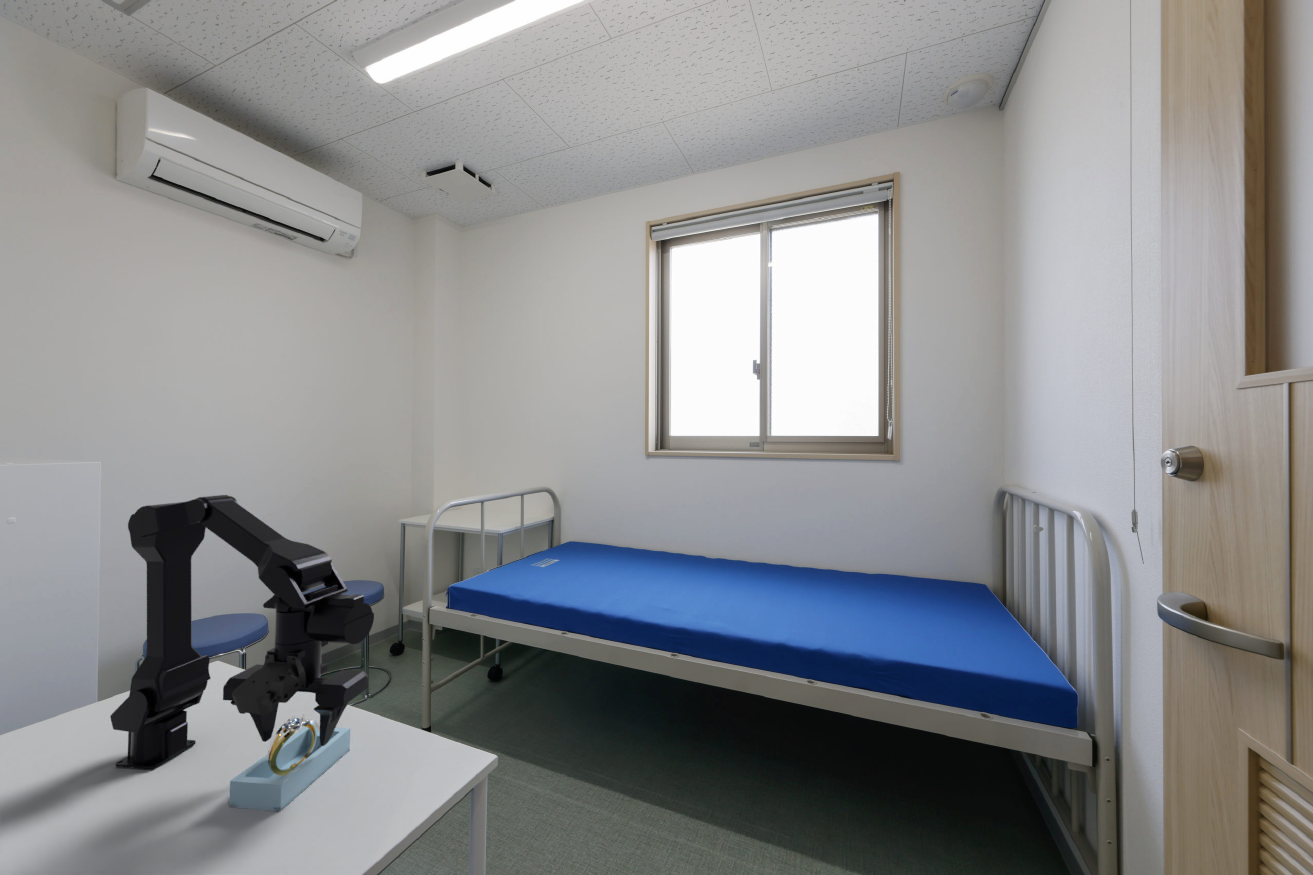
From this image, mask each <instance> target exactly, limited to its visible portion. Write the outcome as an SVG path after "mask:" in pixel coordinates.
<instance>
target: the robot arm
mask: <svg viewBox="0 0 1313 875" xmlns="http://www.w3.org/2000/svg"><path fill="white" fill-rule="evenodd" d="M127 522H128V523H127V530H128V532H129V537H130V544H131V547H132V549H133V550H134V551H135V552H136V553H137V554H138V555H139V556H140V557H141V558H142V560H144V561H145V563H146V656H145V658H144V659H143V661H142V662H141V663H140V665H139V666H138V668H137V670H136V671H135V672H134V674H133V675H132V677H131V681H130V682H131V683H130V689H129V695H128V697H127V698H126V699H125V700H124V701H123V702H122V703H121V704H120V705H119V706H118V707H117V708H116V709H115V710H114V711H113V712H112V713H111V714H110V717H109V718H110V720H111V726H112V729H113V730H115V731H121V732H128V733H127V734H128V738H127V756H125V757H124V758H122V759H120V760H118V761H116V762H115V767H117V768H125V769H126V768H127V769H137V770H138V769H139V770H155V769H157V768H158V767H159V766H161V765H162V764H165V763H167V762H168V761H170V760H172V759H173V758H174V757H176V756H178V755H179V754H181V753H183V752H185V751H187V750H188V749H189V748H191V747H193V746H194V745H196V739H195V740H194V739H188V729H189V728H188V727H189V722H188V721H187V719H188V718H187V716H188V715H187V714H188V712H187V709H189V708H191V707H193V706H196V705H198V704H200V703H201V700H202V696H203V694H204V692H205V690H206V688H207V686H208V681H209V680H211V676H210V670H209V668H210V661H211V660H210V657H209V656H208V655H206V654H205V655H201V654H200V652H198V651H197V649H195V648H194V647H193V644H192V642H193V641H192V639H193V638H192V636H193V635H192V630H193V629H192V624H193V623H192V622H193V621H192V620H193V619H192V617H193V616H192V558H193V555H194V554H195V552H197V549H198V548H199V547H200V545H202V542H203V541H204V540H205V536H206V529H207V530H209V531H210V532H212V533H213V534H214V535H216V536H217V537H218V538H220V540H222V541H224V542H225V543H226V544H228V545H229V546H231V547H232V548H234V549H235V550H236V551H237V552H238V553H240V554H241V555H243V556H244V557H245V558H246V559H248V560H250V561H251V562H252V563H253V564H254V565H255V566H256V567H257V575H258V579H259V580H260V581H261V582H262V584H263V585H264V586H266V587H267V588H268V590H269V591H270V593H271V592H272V594H273V595H272V597H270V598H269V599H268V600H266V601H265V602H264V603H263V604H262V607H263V608H264V609H272V610H275V622H274V625H275V627H274V647H273V648H271V649H269V650H267V651H266V654H265V657H264V663H263V664H255V665H252V666H251V667H249V668H247V669H245V670H243V671H241V672H238V673H237V674H235V675H233V676H231V677H229V678H228V679H227V681H226V682H225V683H224V685H223V688H222V689H223V690H222V701H230V704H231V705H232V706H236V708H237V711H238V714H243V715H245V714H249V716H250V717H251V719H252V721H253V723H254V726H255V727H256V730H257V732H258V734H259V736H260V739H261V742H264V743H265V742H267V741H269V740H271V738H272V736H273V733H274V729H275V726H276V719H277V715H278V714H277V713H278V710H279V709H278V708H279V703H282V704H284V703H288V702H289V701H290V700H291V699H292V698H293V697H294V695H295V694H296V693H298V692H299V693H300V692H301V693H312V694H313V693H315V696H314V697H315V698H314V701H315V703H317V706H315V707H314V708H313V711H315V712H316V713H317V714H319V726H320V745H321V746H324V745H326V744H327V743H328V742H329V740H330V738H331V735H332V733H333V731H334V729H335V727H337V725H338V724H339V721H340V719H341V717H342V715H343V713H344V711H345V709H346V708H347V706H348V704H349V703H350V702H351V701H353V700H354V699H355V698H356V697H357V696H359V695H361V694H362V693H363V692H365V691H366V690H367V689H368V688H369V677H368V673H366V672H365V671H363V670H355V669H354V670H351V669H342V670H340V671H339V672H337V673H335V674H334V675H332V676H331V677H328V678H325V677H321V675H322V674H324V673H326V672H327V671H328V665H329V664H328V663H322V652H323V649H322V648H323V647H326V646H327V645H329V643H334V644H345V645H346V644H347V645H358V644H360V643H361V642H362V641H364V640H365V639H366V638H367V636H369V634H370V632H371V629H372V627H373V626H374V620H375V613H374V612H373V609H372V607H371V605H369V603H365V596H364V595H363V594H357V593H356V594H345V593H347V592H348V591H349V590H348V587H347V585H346V584H345V582H344V580H343V578H342V577H341V576H340V574H339V572H338V570H337V569H336V567H335V565H334V564H333V563H332V562H333V560H332V558H331V556H330V555H329V554H328V552H326V551H324V550H322V549H320V548H317V546H316V547H315V546H313V545H311V544H308V543H305V542H299V541H294V540H290V539H288V538H286V537H285V536H284V535H282V534H281V533H279V532H278V531H277V530H275V529H274V528H272V527H271V526H269V525H268V524H266V523H265V522H264V521H263V520H261V519H260V518H258V517H257V516H255V515H254V514H252V513H251V512H250V511H248V510H247V509H245V508H244V507H243V506H241V505H240V504H239V503H238V501H237V499H236V497H234V496H232V495H228V494H219V495H218V494H217V495H210V496H208V495H207V496H199V497H197V498H195V499H191V500H188V501H182V502H181V501H179V502H170V503H161V504H160V503H159V504H152V505H151V504H149V505H144V506H141V507H139V508H137V509H136V511H135V512H134V513H133V514H131V515H130V517H129V520H128V521H127ZM322 586H324V587H322ZM319 587H321V588H319ZM317 588H318V589H317ZM313 589H315V590H313ZM310 590H311V591H310ZM312 590H313V591H312ZM308 591H310V592H308ZM305 592H307V593H305ZM303 593H305V594H303Z"/></svg>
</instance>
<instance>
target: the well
mask: <svg viewBox="0 0 1313 875" xmlns="http://www.w3.org/2000/svg"><path fill="white" fill-rule="evenodd" d="M319 727H320V725H319ZM311 743H312V733H311V731H310V729H309V728H308V727H305V726H303V728H300V729H299V731H298V732H296V733H294V734H293V735H292V736H291V737H290V738H289V739H288V740H287V741H286V742H285V744H284V745H283V746H282V748H281V749H280V751H279V753H278V755H277V758H276V765H277V767H278V768H279V769H287V768H290V766H291V765H292V764H294V763H296V764H297V763H298V762H299V761H301V760H302V759H303V758H304V756H305V755H306V754H307V752H308V750H309V748H310V746H311ZM350 750H351V728H349V727H337V726H336V727H335V729H334V731H333V733H332V735H331V738H330V740H329V742H328V743H327V744H326V745H324V746H321V745H320V742H319V745H318V747H317V750H316V751H315V752H314V753H313V754H312V755H310V756H309V757H308V758H307V759H306V760H304V761H303V762H302V763H301V764H299V765H298V766H297V767H296V768H294V769H293V770H292V771H291V772H289V773H288V774H287V775H284V776H280V775H277V774H275V773H273V772H272V771H271V770H270V769H269V768H268V765H267V754H265V755H264V756H263V757H261V758H260V759H258V760H257V761H256V762H254V763H253V764H252V765H250V766H249V767H247V768H246V769H245V770H242V772H241V773H239V774H238V775H237V776H234V777H233V778H232V779H231V780H230V781H229V797H228V798H229V802H228V804H229V805H228V807H229V808H239V809H250V810H263V811H271V812H273V811H276V812H281V811H283V810H284V809H285V808H286V807H287V806H288V805H289V804H290V803H291V802H293V801H294V800H295V799H296V798H297V797H299V796H300V795H301V794H302V793H303V792H304V791H306V789H307V788H309V787H310V786H311V785H312V784H313V783H315V781H317V780H318V779H319V778H320V777H322V775H323V774H325V773H326V772H327V771H328V770H329V769H330V768H332V767H333V766H334V764H336V763H337V762H338V761H339V760H340V759H342V758H343V757H344V756H345V755H346V754H347V753H349V752H350Z"/></svg>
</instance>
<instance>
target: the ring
mask: <svg viewBox="0 0 1313 875" xmlns="http://www.w3.org/2000/svg"><path fill="white" fill-rule="evenodd" d="M319 726H320V724H319V723H318V722H317V721H316V720H314V719H306V714H302V717H300V718H299V717H298V718H296V717H295V715H294V716H292V717H291V718H288V719H287V721H285V722H284V723H283V724H282V725H281V726H280V728H278V730H277V731H276V733H275V734H274V735H273V738H272V740H271V742H270V743H269V747H268V750H267V754H266V755H267V765H268V768H269V769H270V770H271V771H272V772H273V773H275V774H277V775H280V776H284V775H287V774H288V773H289V772H291V771H292V770H293V769H294V768H296V767H297V766H298V765H299V764H301V763H302V762H303V761H304V760H306V759H307V758H308V757H309V756H310V755H312V754H313V753H314V752H315V751H316V750H317V747H318V745H319V742H320V727H319ZM302 727H303V728H304V727H308V728H309V729H310V731H311V733H312V743H311V746H310V748H309V750H308V752H307V754H306V755H305V756H304V758H303V759H302V760H301V761H299V762H298V763H297V764H296V763H294V764H292V765H291V766H290V768H287V769H279V768H278V767H277V765H276V758H277V755H278V753H279V751H280V749H281V748H282V746H283V745H284V744H285V742H286V741H287V740H288V739H289V738H290V737H292V736H293V735H294V734H295V732H296V731H297V730H300V729H302ZM285 733H286V734H285ZM283 734H284V735H283ZM282 735H283V736H282Z"/></svg>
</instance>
